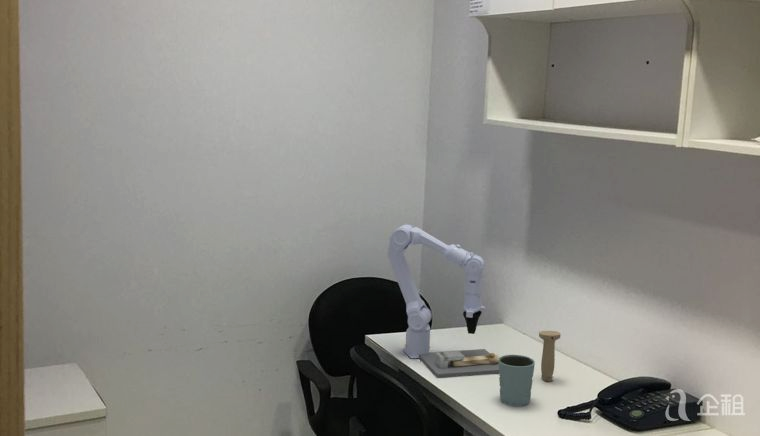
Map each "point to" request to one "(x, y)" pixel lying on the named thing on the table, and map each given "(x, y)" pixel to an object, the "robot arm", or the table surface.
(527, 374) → the teal cup
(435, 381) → the table surface
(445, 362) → the block
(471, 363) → the link
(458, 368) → the board
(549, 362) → the handle
